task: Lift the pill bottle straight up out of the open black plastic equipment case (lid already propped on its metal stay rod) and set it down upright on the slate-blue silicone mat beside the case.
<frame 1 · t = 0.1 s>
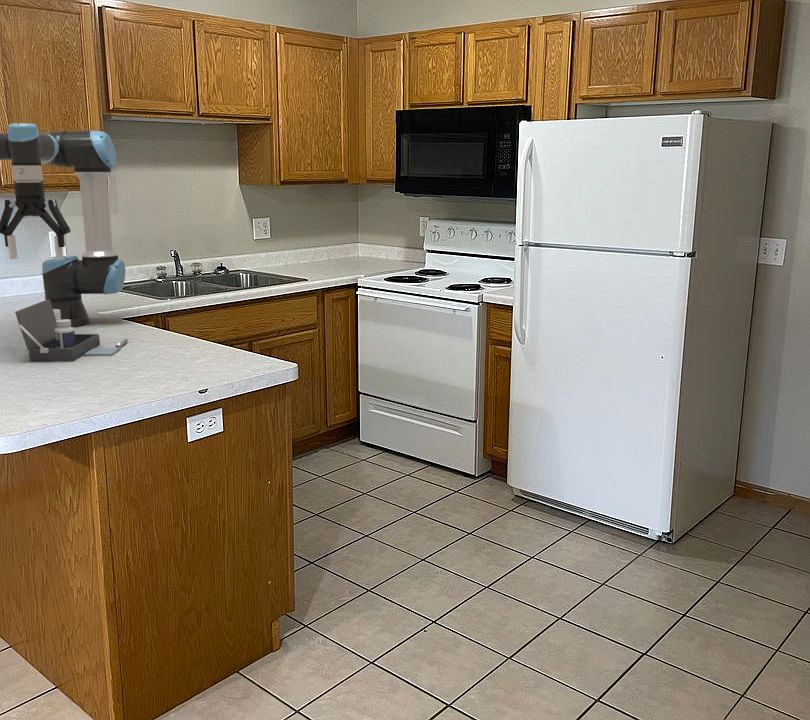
hand: (36, 259, 230), 28 cm above the counter, fingers open, 13 cm apart
case: (66, 353, 239), on the counter
pill bottle: (66, 353, 239), resting in case
white cup: (49, 343, 254), on the counter
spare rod: (122, 345, 249), on the counter
mat: (102, 352, 239), on the counter
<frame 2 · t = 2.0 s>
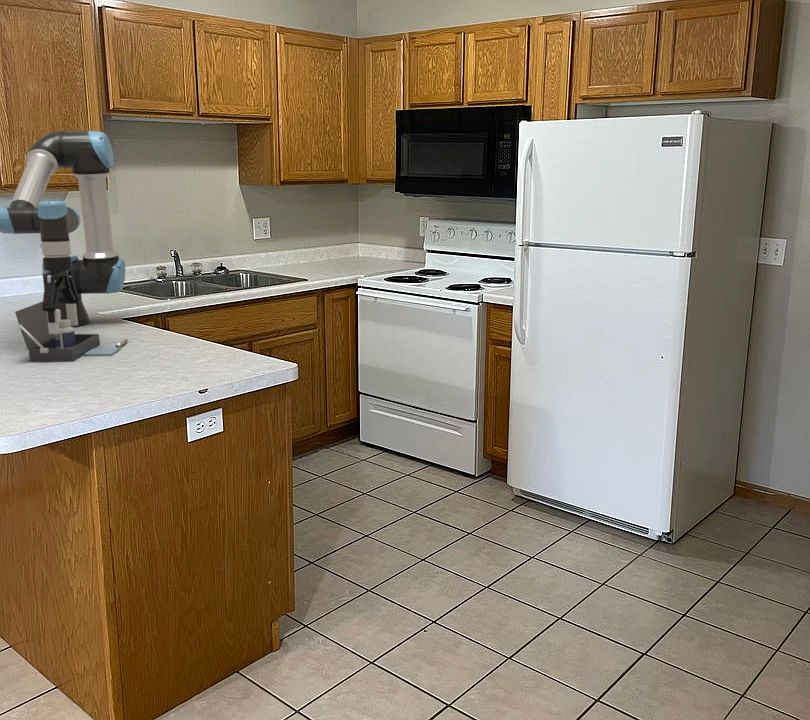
hand: (63, 329, 237), 7 cm above the counter, fingers open, 13 cm apart
nothing on the counter moved.
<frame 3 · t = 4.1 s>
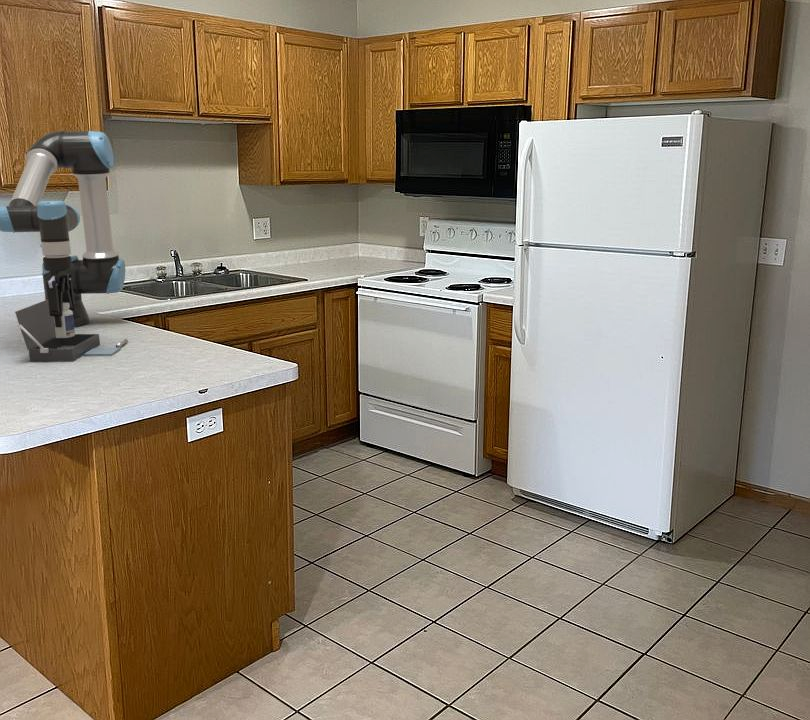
hand: (65, 335, 238), 5 cm above the counter, fingers closed on pill bottle, 5 cm apart
pill bottle: (65, 337, 239), point 5 cm above the counter, touching gripper
everything else where it was.
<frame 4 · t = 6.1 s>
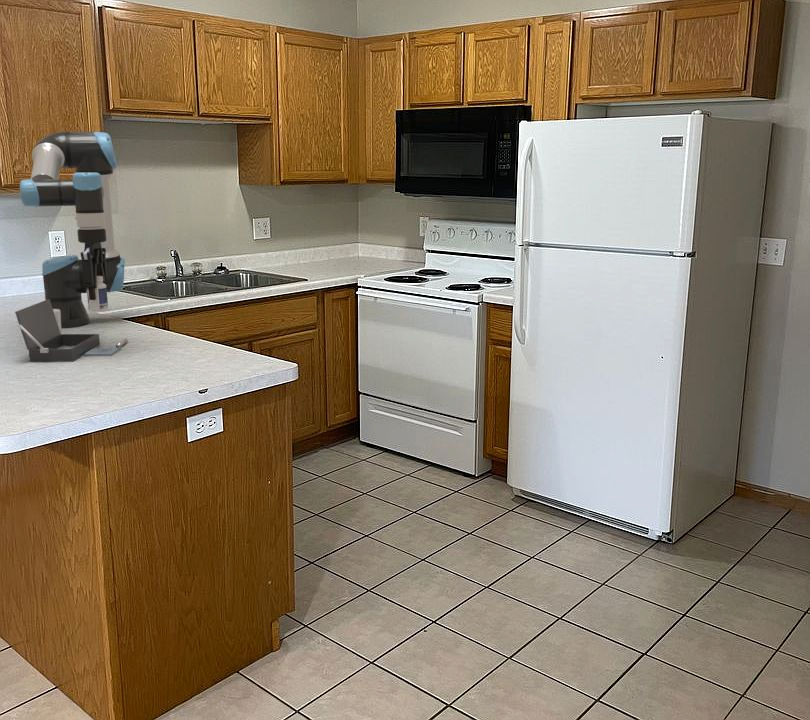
hand: (98, 309, 236), 13 cm above the counter, fingers closed on pill bottle, 5 cm apart
pill bottle: (98, 310, 236), point 13 cm above the counter, touching gripper
everything else where it was.
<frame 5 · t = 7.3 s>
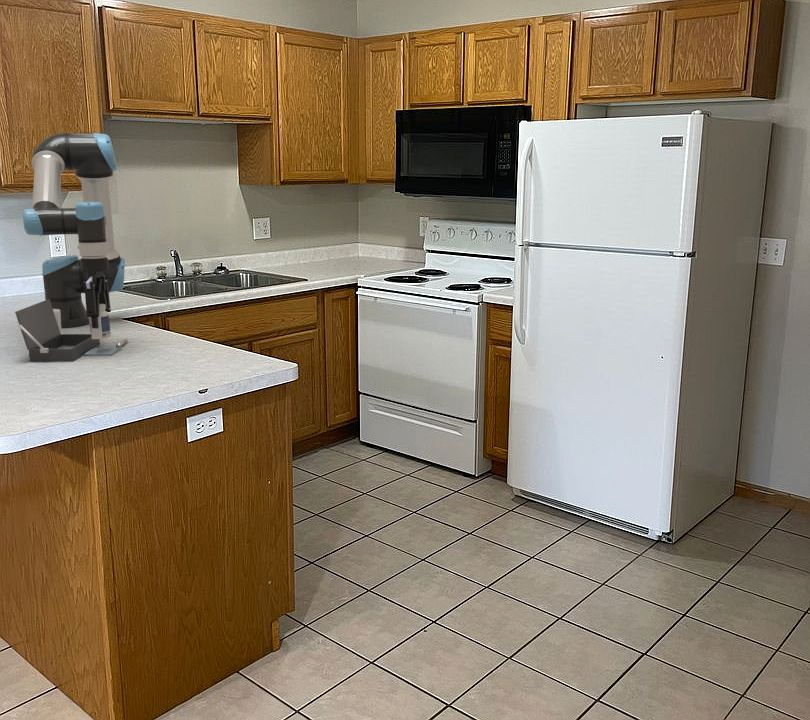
hand: (101, 336, 238), 5 cm above the counter, fingers closed on pill bottle, 5 cm apart
pill bottle: (101, 338, 238), point 4 cm above the counter, touching gripper
everything else where it was.
when the fingers open (2 cm above the counter, at t = 8.2 s): pill bottle drops 1 cm, resting on mat.
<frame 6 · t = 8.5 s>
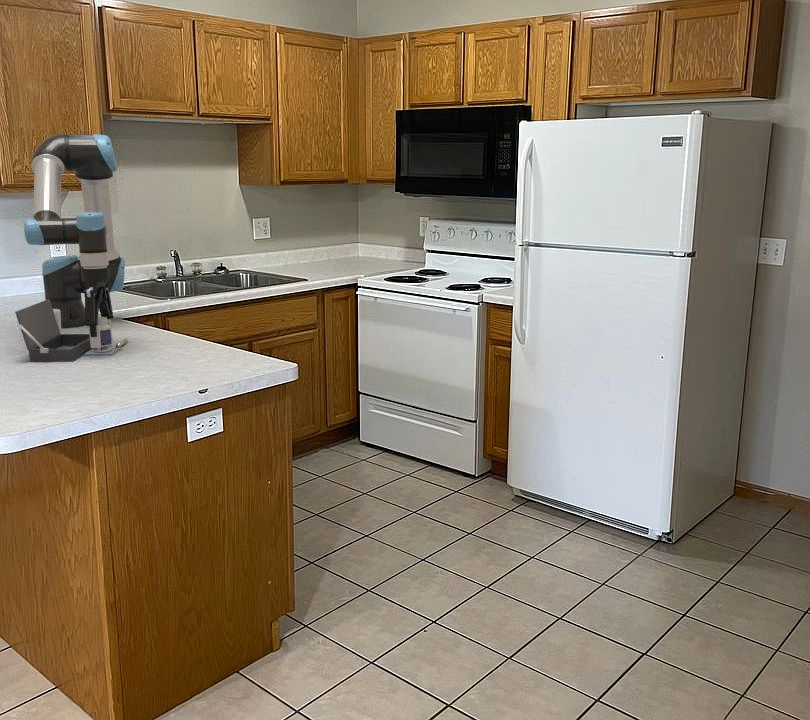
hand: (101, 344, 239), 3 cm above the counter, fingers open, 9 cm apart
pill bottle: (102, 351, 239), resting on mat
everything else where it was.
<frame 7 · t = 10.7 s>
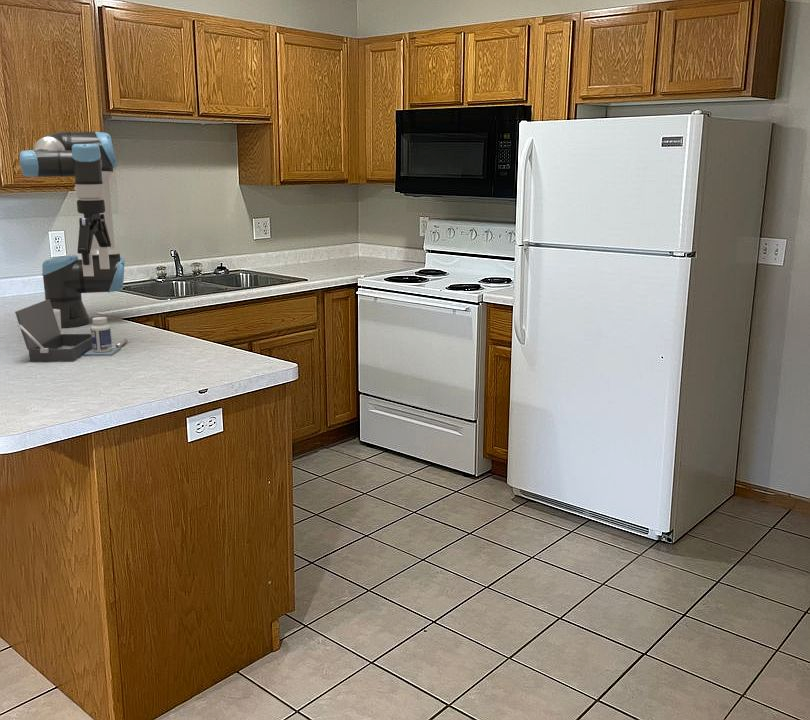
hand: (97, 272, 240), 23 cm above the counter, fingers open, 13 cm apart
nothing on the counter moved.
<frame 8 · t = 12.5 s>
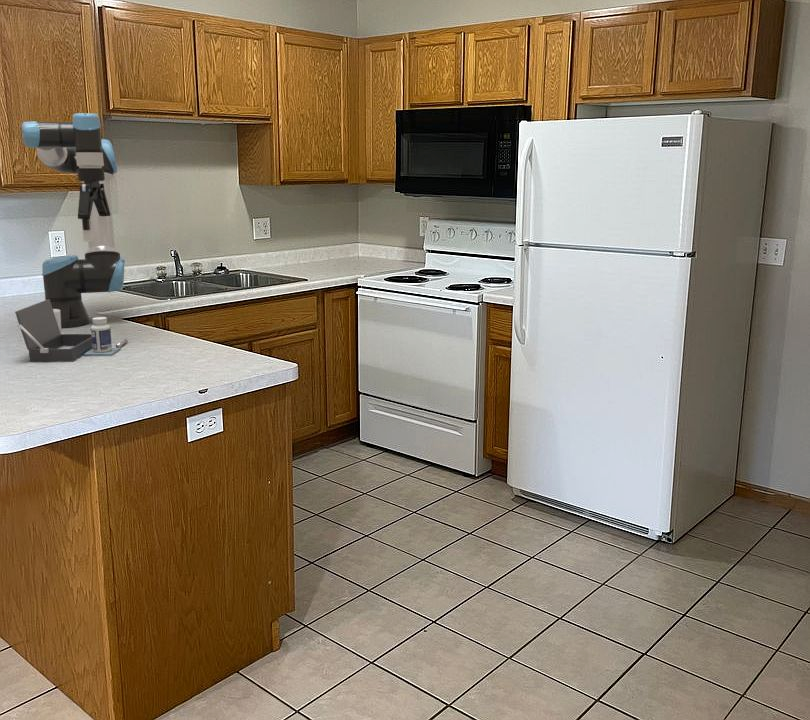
hand: (96, 239, 248), 32 cm above the counter, fingers open, 13 cm apart
nothing on the counter moved.
at the end: pill bottle inside the target area on the mat (0.2 cm from its centre), point 0.4 cm above the mat's base; pill bottle tilted 0°; the gripper is holding nothing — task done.
